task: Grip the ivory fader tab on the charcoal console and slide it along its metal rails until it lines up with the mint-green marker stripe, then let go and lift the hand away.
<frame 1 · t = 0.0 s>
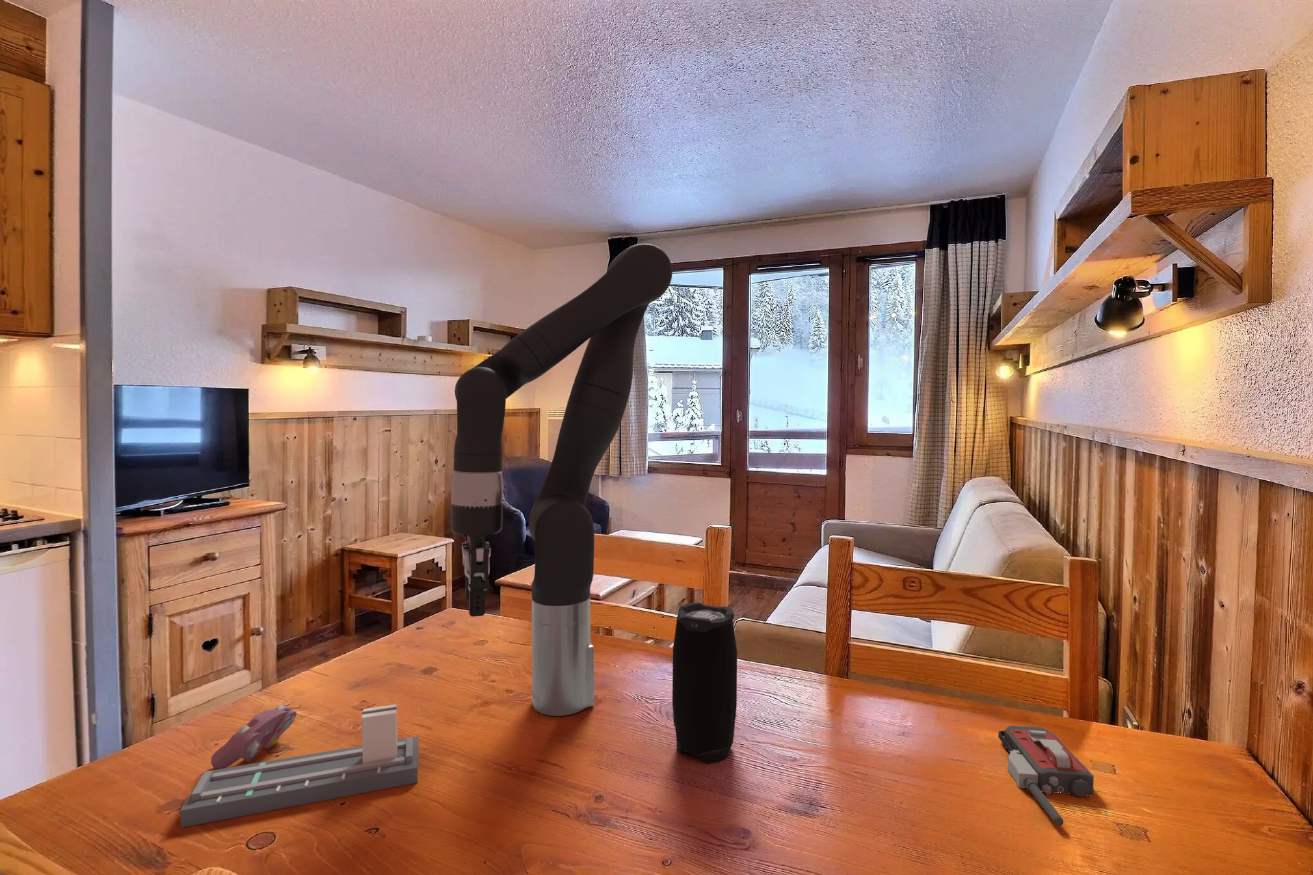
hand: (474, 606, 96), 17 cm above the table, tool pointing down, fingers open, 8 cm apart
fader tab: (380, 732, 82), point 5 cm above the table, slide at 0.0 cm
portable speaker: (704, 749, 88), on the table
fader console: (311, 784, 79), on the table
video game controller: (257, 754, 87), on the table
walkie-talkie: (1048, 785, 80), on the table
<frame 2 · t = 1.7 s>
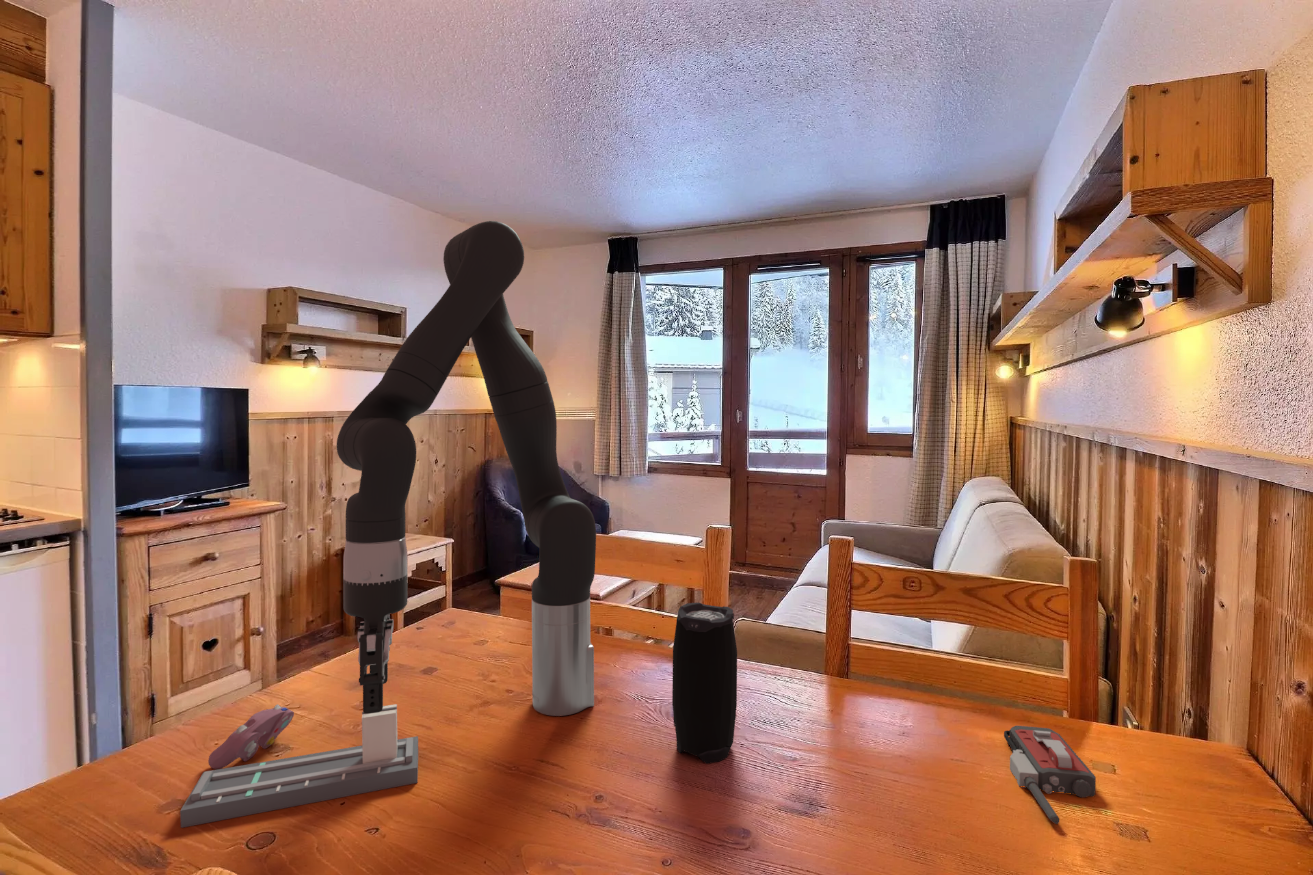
hand: (376, 696, 81), 10 cm above the table, tool pointing down, fingers open, 8 cm apart
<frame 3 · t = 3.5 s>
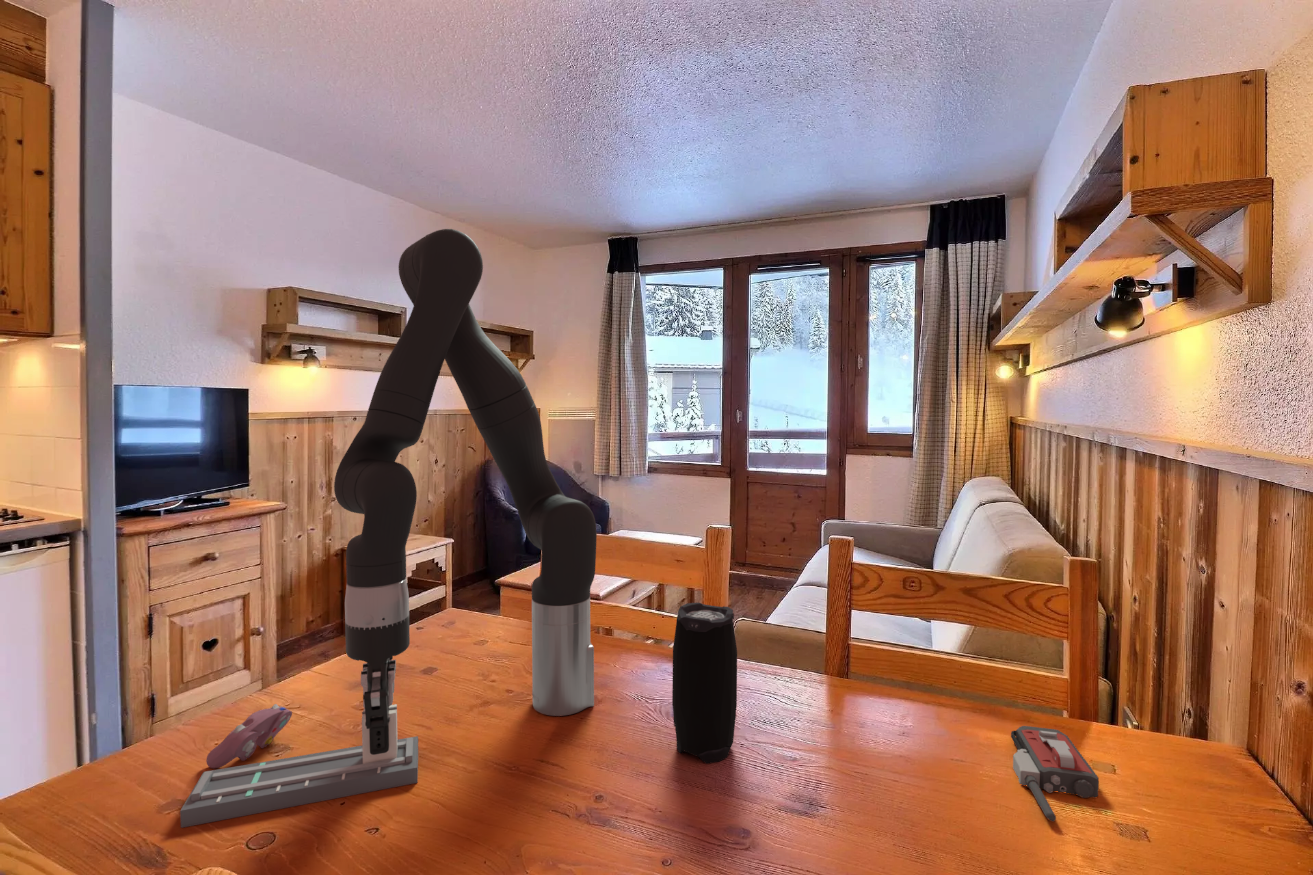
hand: (380, 745, 82), 4 cm above the table, tool pointing down, fingers closed on fader tab, 2 cm apart
fader tab: (380, 732, 82), point 5 cm above the table, slide at 0.0 cm, touching gripper
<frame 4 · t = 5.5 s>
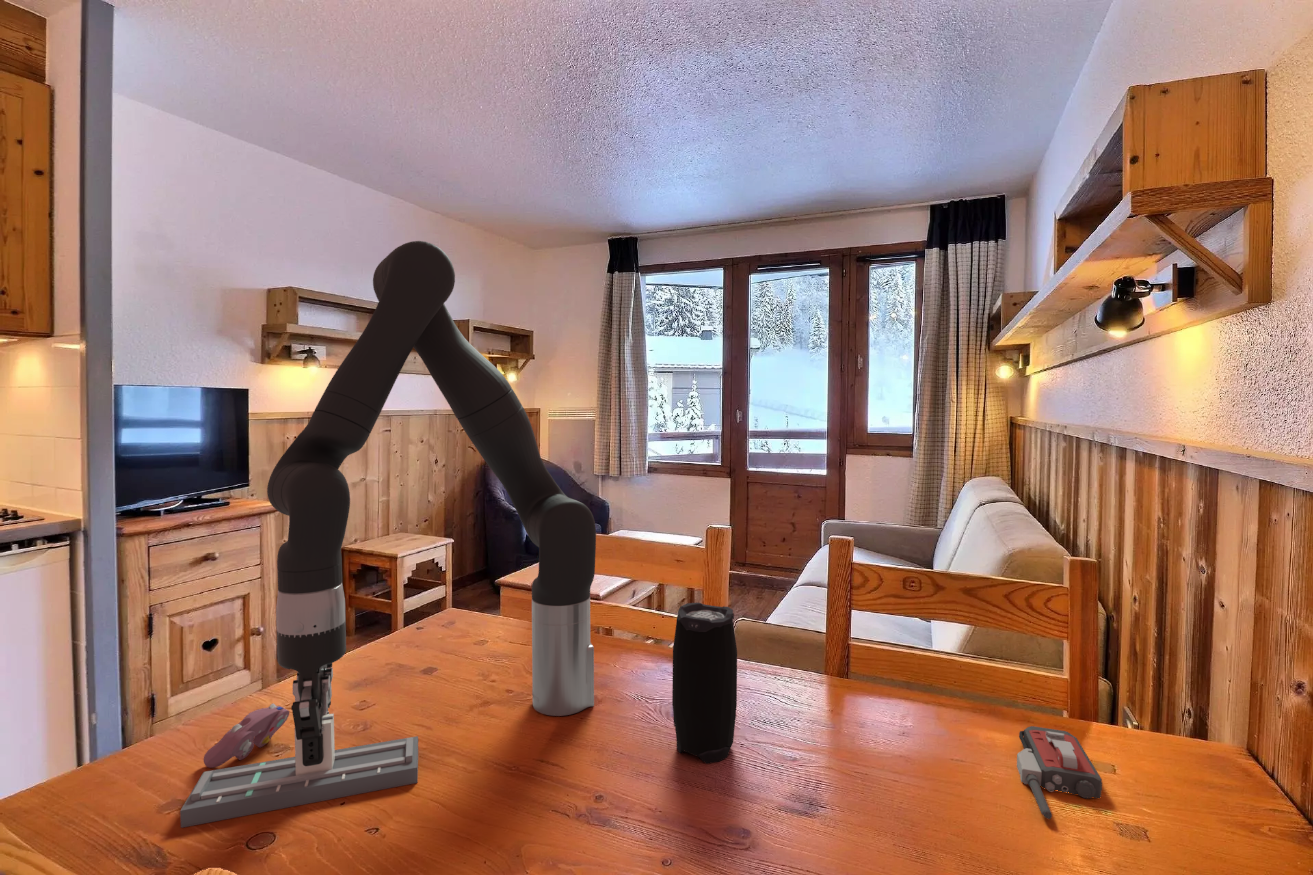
hand: (315, 756, 79), 4 cm above the table, tool pointing down, fingers closed on fader tab, 2 cm apart
fader tab: (315, 743, 79), point 5 cm above the table, slide at 7.5 cm, touching gripper
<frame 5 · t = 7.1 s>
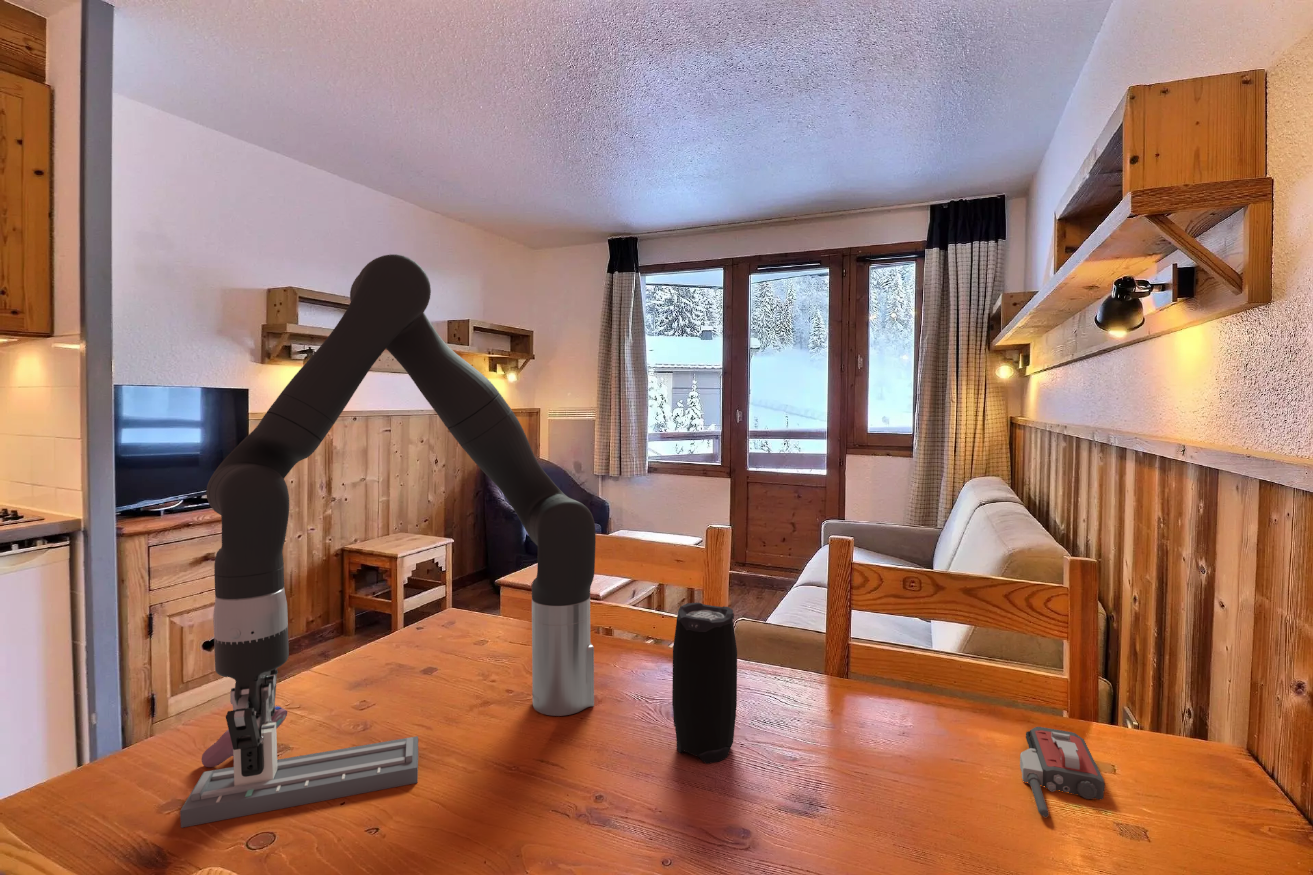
hand: (256, 766, 77), 4 cm above the table, tool pointing down, fingers closed on fader tab, 2 cm apart
fader tab: (255, 752, 77), point 5 cm above the table, slide at 13.9 cm, touching gripper
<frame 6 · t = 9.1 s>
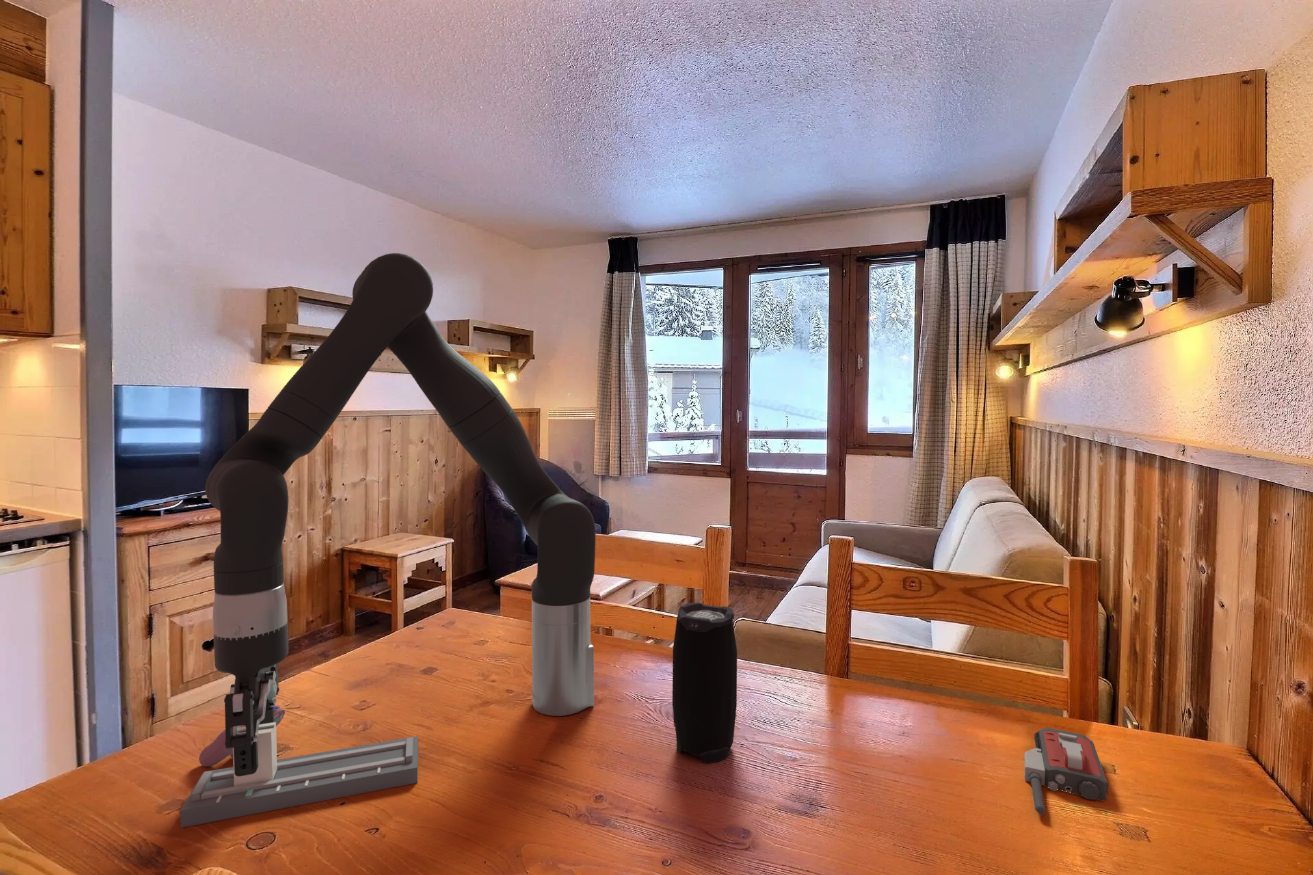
hand: (256, 754, 77), 5 cm above the table, tool pointing down, fingers open, 8 cm apart
fader tab: (255, 752, 77), point 5 cm above the table, slide at 14.0 cm
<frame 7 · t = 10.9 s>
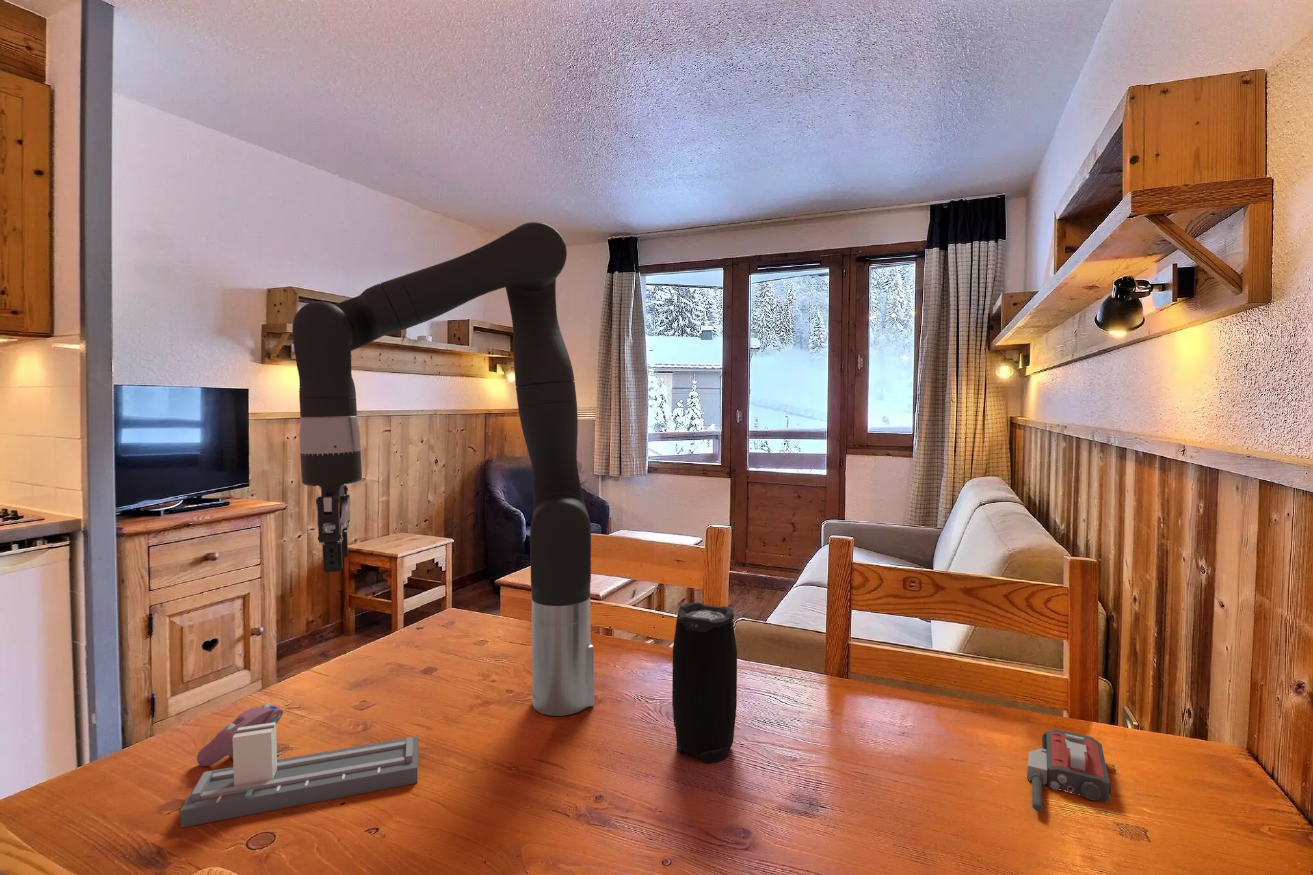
hand: (336, 564, 89), 25 cm above the table, tool pointing down, fingers open, 8 cm apart
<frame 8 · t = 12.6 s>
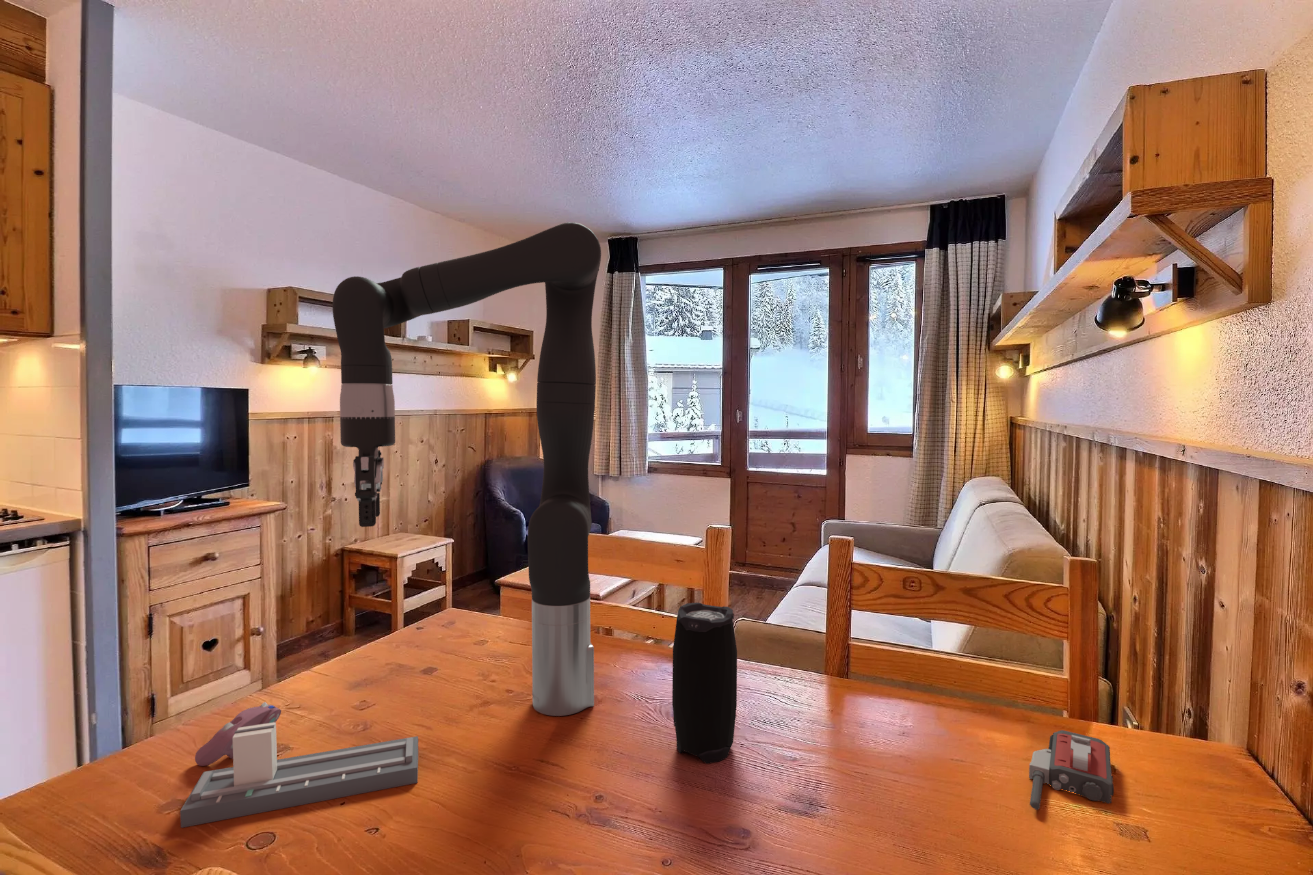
hand: (370, 521, 96), 30 cm above the table, tool pointing down, fingers open, 8 cm apart
at the end: fader tab slide at 14.0 cm; the gripper is holding nothing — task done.
